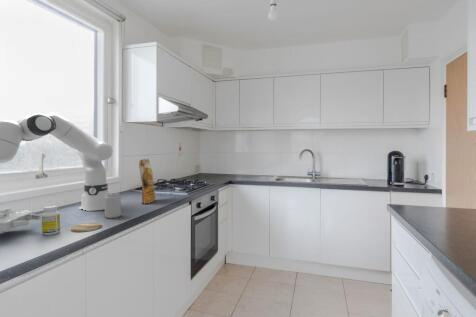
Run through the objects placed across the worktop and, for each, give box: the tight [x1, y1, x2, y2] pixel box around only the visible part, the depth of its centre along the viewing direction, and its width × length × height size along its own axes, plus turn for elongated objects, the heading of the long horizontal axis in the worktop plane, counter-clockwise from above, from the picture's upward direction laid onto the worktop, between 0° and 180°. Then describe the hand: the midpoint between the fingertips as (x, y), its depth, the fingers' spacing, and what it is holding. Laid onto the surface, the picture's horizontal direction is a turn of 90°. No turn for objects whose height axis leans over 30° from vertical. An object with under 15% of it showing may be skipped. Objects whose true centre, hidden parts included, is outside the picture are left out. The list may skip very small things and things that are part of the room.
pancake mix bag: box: [138, 158, 157, 204], centre depth 179 cm, size 7×19×28 cm, turn 174°
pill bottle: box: [41, 205, 61, 236], centre depth 114 cm, size 6×6×11 cm
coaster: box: [70, 222, 103, 233], centre depth 122 cm, size 12×12×1 cm
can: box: [104, 192, 122, 219], centre depth 141 cm, size 8×8×12 cm
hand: (34, 219), depth 113 cm, fingers open, 8 cm apart
